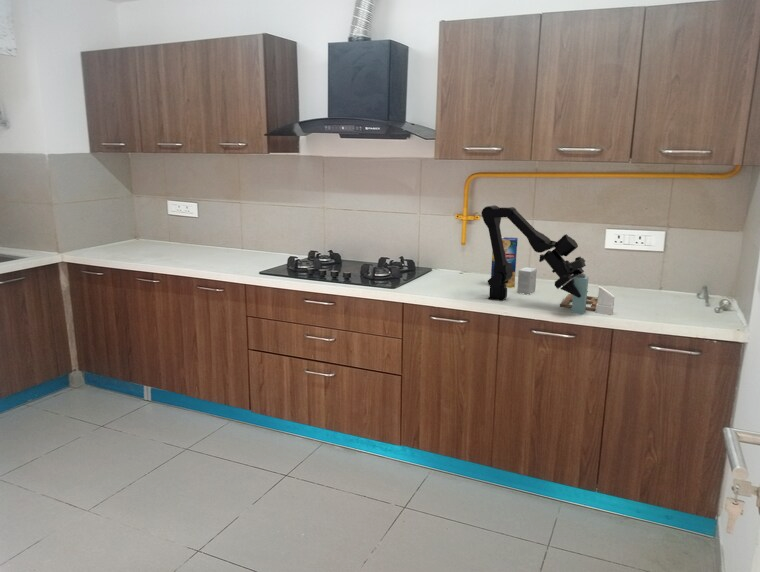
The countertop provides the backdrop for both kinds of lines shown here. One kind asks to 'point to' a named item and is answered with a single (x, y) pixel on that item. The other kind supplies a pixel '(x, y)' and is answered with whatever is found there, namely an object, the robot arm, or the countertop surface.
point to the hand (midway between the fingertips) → (583, 294)
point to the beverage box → (508, 257)
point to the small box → (526, 280)
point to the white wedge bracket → (605, 302)
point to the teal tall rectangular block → (582, 287)
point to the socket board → (592, 301)
